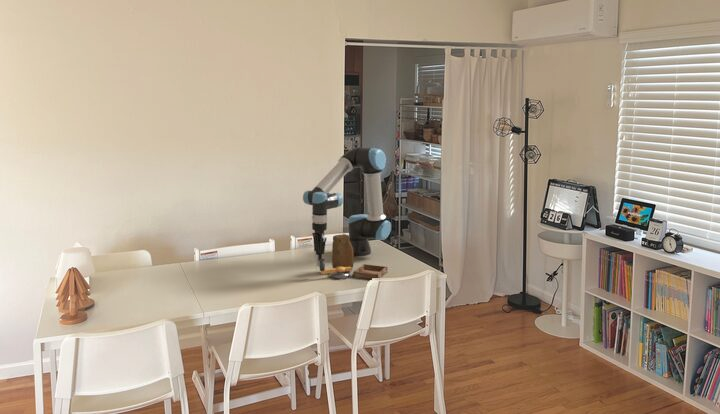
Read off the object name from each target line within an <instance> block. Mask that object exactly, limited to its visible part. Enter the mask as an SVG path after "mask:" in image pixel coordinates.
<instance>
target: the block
mask: <svg viewBox="0 0 720 414" xmlns="http://www.w3.org/2000/svg"><path fill="white" fill-rule="evenodd" d="M331 252H332V256H331V265H332V268H336V267H352V269H353V267H354V255H353V247H352V245H351V243H350V241H349V234H346V233H343V234H336V235H333V236H332V250H331Z"/></svg>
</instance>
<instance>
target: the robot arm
mask: <svg viewBox="0 0 720 414" xmlns="http://www.w3.org/2000/svg"><path fill="white" fill-rule="evenodd" d="M337 161H338V162H337V163H336V165H334V166H333V168H332V169H331V170H330V171H329V172H328V173H327V174H326V175H325V176H324V177H323V178H322V179H321V180H320V181H319V182H318V183H317V185H316V186H314V188H313V189H312V190H306V191H304V193H303V194H302V201H303V203H304V204H306V205H310V206H312V207H311V208H312V209H311V210H312V216H311V220H312V224H311V227H312V228H311V229H312V231H314V232H312V237H313V238H312V239H313V251H314V252H315V255H316V256H315V257H316V259H315V266H316V267H320V259H323V255H324V254H325V249H326V242H327V237H325V231H326V230H327V228H328V227H327V226H328V225H327V224H328V210H330V209H331V210H332V209H336V208H339V207H341V206H342V205H343V203H344V198H343V196H342V194H341V193H339V192H333V193H330V192H331V191H332V189H334V188H335V187H336V185H337V184H339V183H340V181H341V180H342V179H343V178H344V177H345V176H346V175H347V174H348V173H350V172H352V171H353V170H354V169H356V168H359V169H361V173H362V174H363V175H364V176H365V177H364V179H365V188H366V191H365V192H366V201H367V211H368V214H367V213H366V214H365V213H362V214H361V213H359V214H353V215H351V216H349V217H348V235H349V241H350V243H351V245H352V247H353V257H354V256H355V257H356V256H357V257H360V256H368V255H371V253H372V248H371V245H370V241H369V239H373V240H377V241H378V240H380V241H384V240H386V239H387V238H388V237H389V235H390V233H391V231H392V223H391V222H390V220H387V215H386V214H384V206H383V205H384V204H383V193H382V192H383V191H382V182H381V180H382V179H381V174H382V172H383V169H385V167H386V165H387V156H386V154H385V152H384V151H383V150H382V149H379V148H375V147H360V146H359V147H353V148H352V149H350V150H348V151H347V152H345V153H344V154H342V156H340V158H339V159H338V160H337Z"/></svg>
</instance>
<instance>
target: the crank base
mask: <svg viewBox="0 0 720 414" xmlns="http://www.w3.org/2000/svg"><path fill="white" fill-rule="evenodd" d="M330 277H332V278H331V279H333V280H338V279H343V280H347V278H348V279H349V277H350V278H351V271H345V272H334V273H330Z"/></svg>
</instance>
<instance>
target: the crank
mask: <svg viewBox="0 0 720 414" xmlns="http://www.w3.org/2000/svg"><path fill="white" fill-rule="evenodd" d="M325 264H326V261H325V258H322V259H320V266H319V271H320V274H322V275H323V274H331V273H334V272H345V271H349V272H352V271H353V268H352V267H336V268H333V267H331V268H326V266H325Z"/></svg>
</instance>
